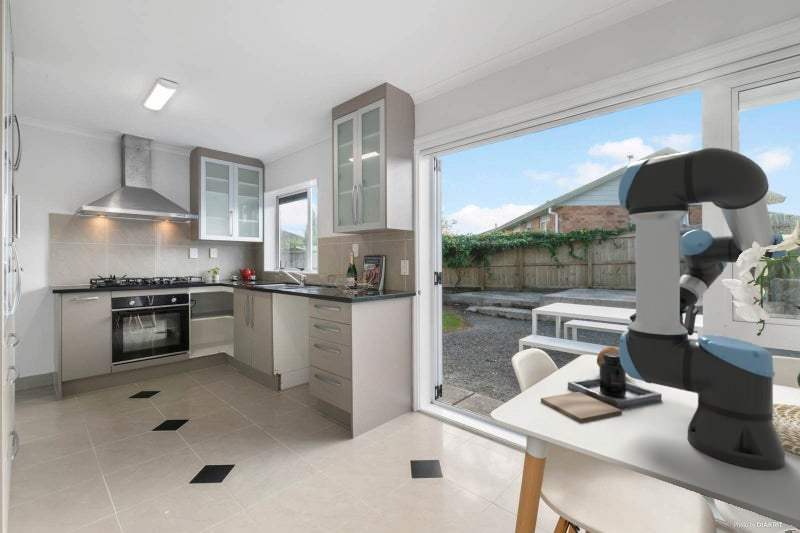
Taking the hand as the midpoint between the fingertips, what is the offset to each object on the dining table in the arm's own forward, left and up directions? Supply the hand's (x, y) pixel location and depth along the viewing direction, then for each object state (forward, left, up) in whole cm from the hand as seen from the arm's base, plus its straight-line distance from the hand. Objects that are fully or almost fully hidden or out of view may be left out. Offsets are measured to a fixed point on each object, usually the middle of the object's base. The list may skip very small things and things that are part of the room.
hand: (642, 343), depth 110 cm
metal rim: (+2, +10, -15) cm, 18 cm away
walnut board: (-2, +27, -15) cm, 31 cm away
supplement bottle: (+2, +10, -15) cm, 18 cm away
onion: (+15, -6, -15) cm, 22 cm away
